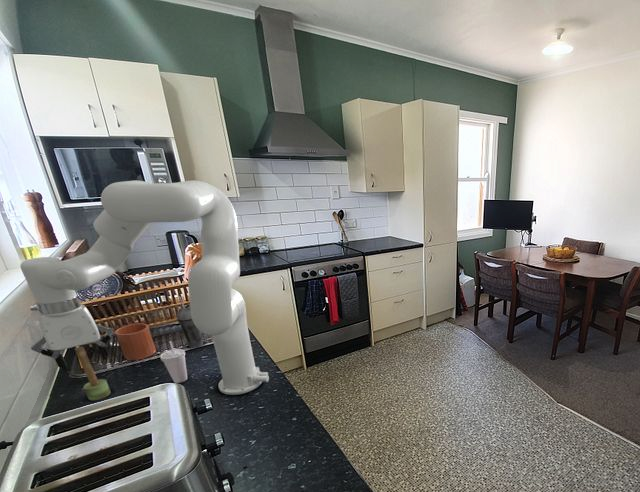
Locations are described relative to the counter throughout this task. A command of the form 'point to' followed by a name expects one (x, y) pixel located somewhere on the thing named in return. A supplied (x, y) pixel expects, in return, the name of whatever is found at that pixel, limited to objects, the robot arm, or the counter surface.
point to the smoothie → (175, 363)
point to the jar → (135, 341)
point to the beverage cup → (189, 326)
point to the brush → (92, 378)
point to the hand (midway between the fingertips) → (85, 362)
